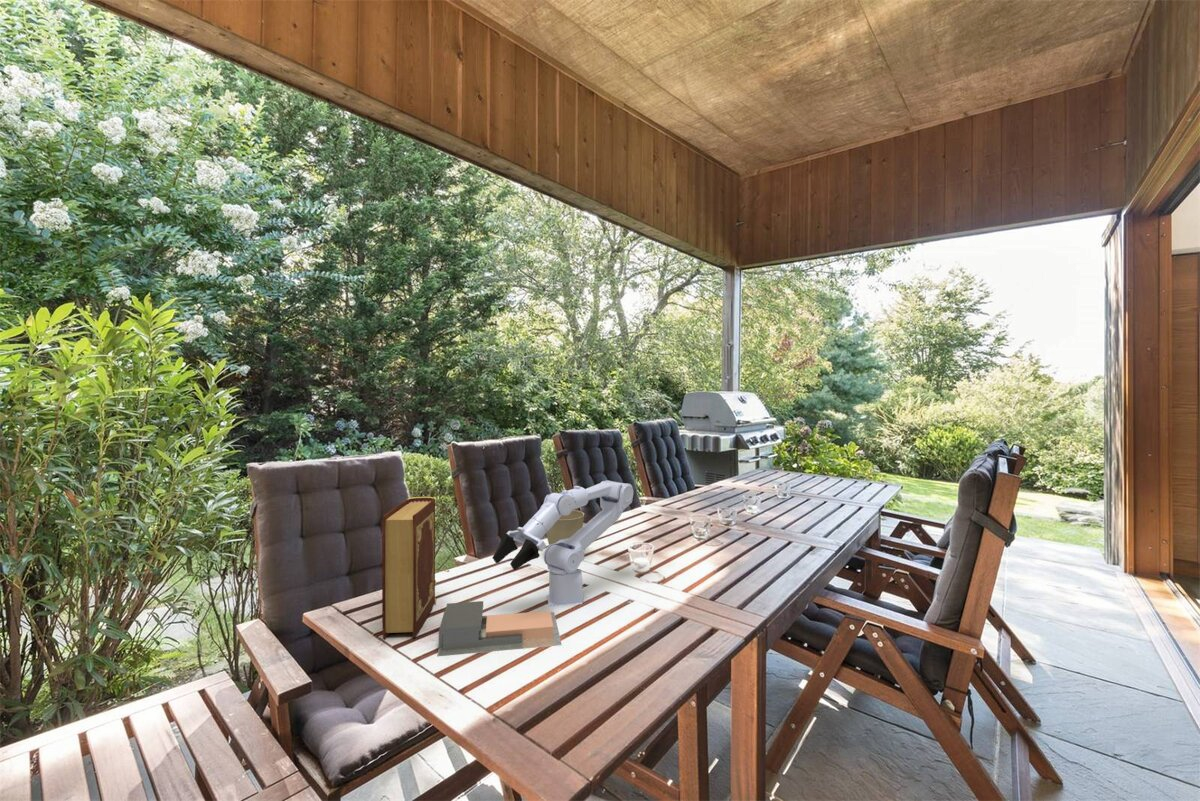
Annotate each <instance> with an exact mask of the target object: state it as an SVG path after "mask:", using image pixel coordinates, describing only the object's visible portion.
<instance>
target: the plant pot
mask: <svg viewBox="0 0 1200 801" xmlns="http://www.w3.org/2000/svg"><path fill="white" fill-rule="evenodd" d="M584 519H585V513H584V512H583V511H580V510H577V509H574V510H572V512H571V513H570V514H569V515H566V516H564V515H561V517H560V518H559V519H558V520H557V521H556V523H555V524H554V525H553V526H552V527H551V528H550V529H549V530H548V531H547V533H546V534H545V535H546V539H547V542H548V546H549V545H550V544H554V543H557V542H558V541H559V540H563V539H567V538H570V537H571V536H572V535H574V534H575V533H576V532H577V531H578V530H579V529H581V528H582V527H583V526H584Z"/></svg>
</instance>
